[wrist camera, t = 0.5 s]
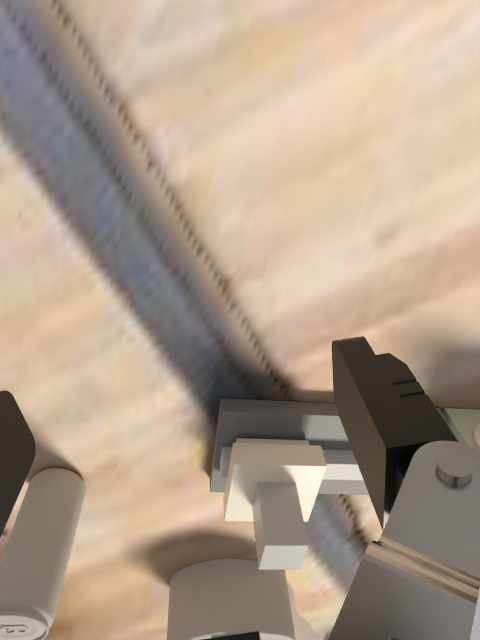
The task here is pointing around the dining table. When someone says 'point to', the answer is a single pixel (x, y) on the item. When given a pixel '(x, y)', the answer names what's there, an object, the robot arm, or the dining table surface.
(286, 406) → the rail board
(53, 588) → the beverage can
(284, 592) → the grey lumpy-topped block
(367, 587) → the robot arm
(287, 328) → the dining table surface
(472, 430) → the end cabinet
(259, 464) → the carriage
